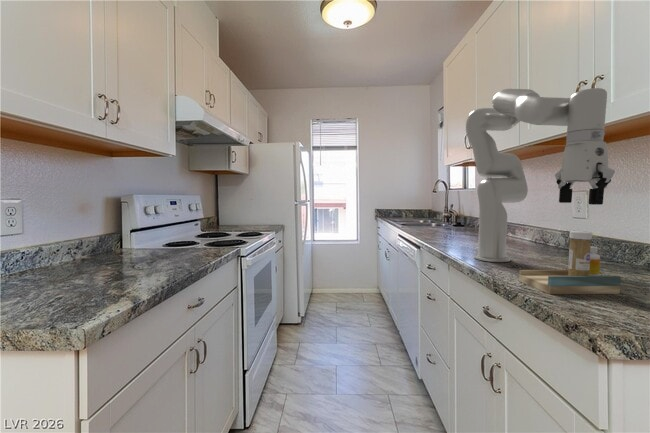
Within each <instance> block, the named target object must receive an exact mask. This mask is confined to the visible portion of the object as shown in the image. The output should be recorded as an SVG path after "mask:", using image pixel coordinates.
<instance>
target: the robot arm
mask: <svg viewBox="0 0 650 433" xmlns="http://www.w3.org/2000/svg"><path fill="white" fill-rule="evenodd" d="M607 99H608V92H607V90H606V89H604V88H600V87H597V88H596V87H593V88H587V89H586V88H585V89H581V90H578V91H576V92H574V93H572V95H570V97H544V96H540V94H539V93H538V92H536V91H534V90H533V89H530V88H529V89H528V88H504V89H502V90H499V91H498V92H496V94H494V96H493V98H492V100H491V105H492V107H484V108H483V107H482V108H477V109H473V110H472V111H471V112H470V113H469V114H468V116H467V119H466V120H465V121H466V122H465V133H466V136H467V139H468V142H469V143H470V146H471V148H472V154H473V157H474V158H473V159H474V162H475V167H476V171H477V173H478V175H479V176H481V177H483V178H485V179H483V180H481V181H480V182H479V183H478V185H477V189H476V190H477V191H476V192H477V193H476V195H477V199H478V205H479V206H478V207H479V208H478V209H479V210H478V211H479V214H478V215H479V216H478V242H477V244H478V246H476V250H477V253H474V254H473V258H474V259H475V260H478V261H483V262H488V263H491V262H492V263H508V262H510V261H511V257H510V256H508V255H507V232H508V231H507V230H508V213H507V210H506V207H505V206H504V204H505V203H506V204H507V203H508V204H510V203H511V204H513V203H514V204H515V203H520V202H522V201H524V200H525V199H526V198H527V196H528V184H527V179H526V175H525V173H524V172H525V171H524V167H523V164H522V161H521V159H520V158H519V157H518V155H516V154H515V153H507V152H506V153H505V152H500V151H499V150H498V148H497V147H498V146H497V143H496V141H495V139H494V138H493V137H492V136H491V135H490V134H489V133H488V131H489V132H490V131H494V132H495V131H496V132H497V131H498V132H500V131H501V132H502V131H503V132H504V131H508V130H511V129H513V128H515V126H517V125H518V124H519V123H520V122H522V123H526V124H530V125H534V126H558V127H561V126H562V127H565V126H566V128H567V129H566V131H567V132H566V138H565V139H566V142H565V147H564V150H563V151H564V152H563V155H562V160H561V166H560V167H561V168H560V170H559V171H558V172H556V173H555V174H554V176H555V179H556V184H557V185H558V186H557V187H558V189H559V195H558V203H560V204H563V203H564V204H565V203H566V204H567V203H568V204H570V203H572V201H573V200H572V199H573V188H572V186H573V185H574V184H575V183H576V182H579V183H582V182H583V183H587V182H588V184H589V185H590V186H591V188H589V192H588V205H591V206H592V205H596V206H597V205H599V206H600V205H604V204H603V203H604V195H605V189H607V188H608V185H609V183H611V182H612V178H614V175H615V173H616V171H615V169H613V168H611V167H609V153H608V146H607V142H606V141H604V139H605V138H604V137H605V135H606V131H605V127H606V126H605V124H606V112H607Z"/></svg>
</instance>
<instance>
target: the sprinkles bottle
mask: <svg viewBox="0 0 650 433" xmlns="http://www.w3.org/2000/svg"><path fill="white" fill-rule="evenodd" d="M568 237H569V251H568V270H569V272H568V276H589V270H590V247H591V246H592V240H593V233H592V231H587V230H570V231H569V236H568Z"/></svg>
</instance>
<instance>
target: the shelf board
mask: <svg viewBox="0 0 650 433" xmlns="http://www.w3.org/2000/svg"><path fill="white" fill-rule="evenodd" d="M568 272H569V269H519V271H518V274H519V275H518V282H521V283H523V284H526V285H527V286H530V287H532V288H534V289H537V290H540V291H542V292H544V293H546V294H549V295H596V294H597V295H602V294H604V295H607V294H609V295H610V294H611V295H613V294H614V295H616V294H617V295H620V294H621V281H622V279H621V278H622V277H621V276H620V275H599V276H568Z"/></svg>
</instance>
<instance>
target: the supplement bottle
mask: <svg viewBox="0 0 650 433" xmlns="http://www.w3.org/2000/svg"><path fill="white" fill-rule="evenodd" d="M598 252H599V251H598V247H597V246H593V245H591V247H590V270H589V276H600V270H601V268H600V267H601V256H600V255H599V254H597V253H598Z"/></svg>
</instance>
